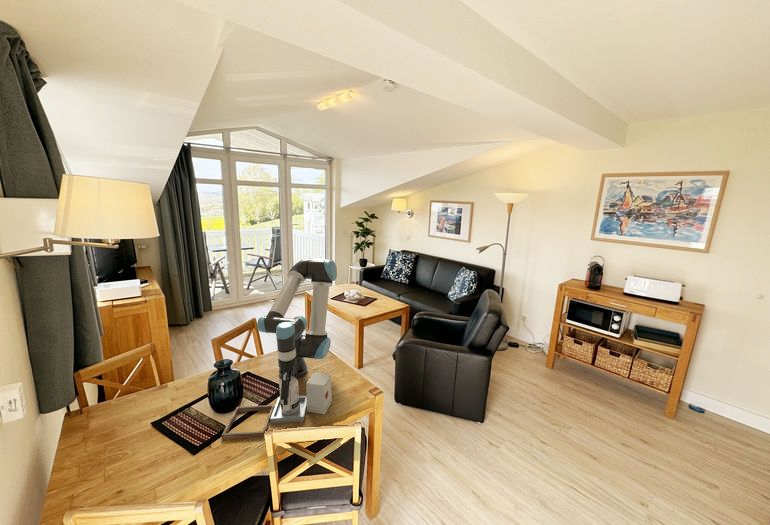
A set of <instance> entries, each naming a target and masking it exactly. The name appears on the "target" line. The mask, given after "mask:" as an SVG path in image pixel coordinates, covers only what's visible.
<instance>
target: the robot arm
mask: <svg viewBox="0 0 770 525" xmlns="http://www.w3.org/2000/svg"><path fill="white" fill-rule="evenodd" d="M286 276H287V278H286V281H284V284H283V286H282V287H281V290H280V291H279V293H278V294H277V297H276V299H275V300H274V302H273V304H272V305H271V307H270V309H269V311H268V312H267V315H261V316H260V317H259V318H258V319H257V322H256V327H257V328H256V329H257V330H258V332H260V333H266V334H275V336H276V337H275V338H276V346H277V347H276V348H277V350H276V353H277V358H278V359H277V362H278V367H279V368H278V375H279V377H280V378H281V380H282V384H281V397H280V396H279V397H280V399H281V400H282V401H283V411H285V410H290V402H289V396H288V395H289V383H290V381H291V376H293V377H295V378H296V379H299V378H301V377H303V376H304V375H306V373H307V372H308V365H307V362H306V361H305V359H311V360H312V359H314V360H324V359H325V358H326V357H327V356H328V354H329V351H330V347H331V343H332V342H331V337H328V336H329V335H328V332H327V331H326V325H327V315H328V303H329V292H330V286H332V285H333V282H334V281H336V280H337V276H338V270H337V265H336V262H335V261H334V260H332V259H327V258H311V257H310V258H309V257H307V258H303V259H301V260H299V261H298V262H296V263H295V264H294V265H293V266H291V268H290V270H289V271H288V273H287V275H286ZM305 280H311V281H310V282H311V284H312V285H313V287H312V298H311V308H310V317H309V325H308V320H307V319H306V318H305V317H304V316H302V315H297V316H295V317H293V318H288V317H285V316H286V314H287V312H288V310H289V308H290V306H291V304H292V302H293V300H294V299H295V296H296V294H297V292H298V290H299V288H300V286H301V284H304V282H305ZM308 326H309V328H308ZM307 328H308V330H307V331H306V329H307ZM305 331H306V332H305ZM304 332H305V335H303V334H304ZM288 378H289V379H288Z"/></svg>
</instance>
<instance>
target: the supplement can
mask: <svg viewBox="0 0 770 525" xmlns="http://www.w3.org/2000/svg"><path fill="white" fill-rule="evenodd" d="M288 379H289V378H288ZM281 384H282V379H281V380H280V382H279V385H278V386H279V397H281ZM288 396H289V402H290V410H285V411H283V401H282V400H281V399H280V401H281V411H282V413H283V414H285V415H292V414H295V413H296V412H297V411H298V410H299V408H300V402H299V396H300V388H299V380H298V378H295V377H293V376H291V381H290V383H289V395H288Z"/></svg>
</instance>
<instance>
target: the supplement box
mask: <svg viewBox="0 0 770 525" xmlns="http://www.w3.org/2000/svg"><path fill="white" fill-rule="evenodd" d="M305 388H306V391H305V392H306V394H305V396H307V409H306V413H307V412H309V413H313V414H320V415H326V413H327V411H328V409H329V408H330V406H331V404H332V402H333V401H332V398H333V397H332V374H329V373H328V374H327V373H320V372H313V373H312V375H311V376H310V377H309V378H308V380H307V381H306V382H305Z"/></svg>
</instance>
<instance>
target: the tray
mask: <svg viewBox="0 0 770 525" xmlns="http://www.w3.org/2000/svg"><path fill="white" fill-rule="evenodd" d="M299 402H300V408H299V410H298V411H297V412H296V413H295V414H292V415H285V414H283V413H282V411H281V401H280V396H279V397H277V401H276V403H275V404H274V406H275V408H274V410H273V413H272V416H271V418H270V419H271V420H270V424H284V423H286V424H287V423H301V422H305V417H306V413H307V396H306V395H299Z"/></svg>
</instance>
